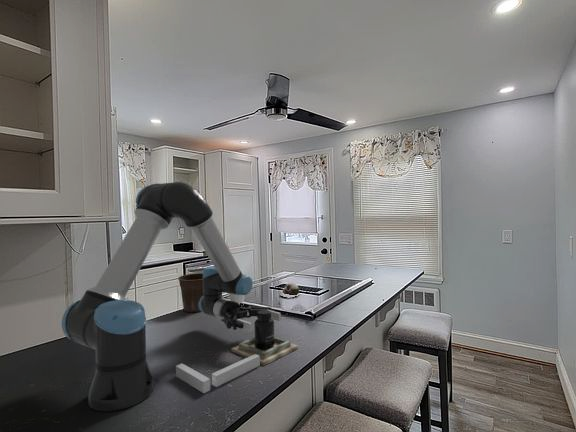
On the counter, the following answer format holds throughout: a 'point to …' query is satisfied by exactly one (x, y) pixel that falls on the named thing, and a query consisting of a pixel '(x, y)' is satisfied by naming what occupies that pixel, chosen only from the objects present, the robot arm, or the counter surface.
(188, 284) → the plant pot
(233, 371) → the bracket
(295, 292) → the skull
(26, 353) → the counter surface
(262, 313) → the supplement bottle
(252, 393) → the counter surface
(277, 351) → the seating station
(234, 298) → the foam cup
